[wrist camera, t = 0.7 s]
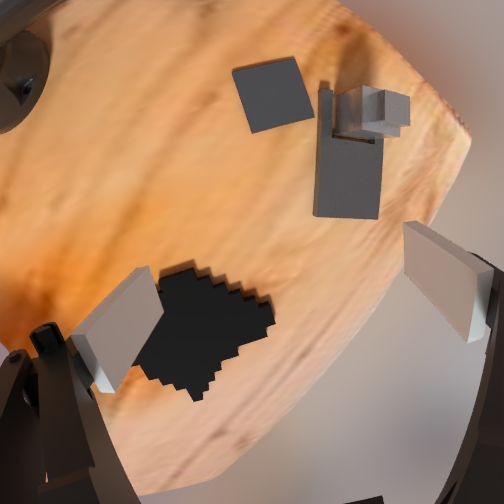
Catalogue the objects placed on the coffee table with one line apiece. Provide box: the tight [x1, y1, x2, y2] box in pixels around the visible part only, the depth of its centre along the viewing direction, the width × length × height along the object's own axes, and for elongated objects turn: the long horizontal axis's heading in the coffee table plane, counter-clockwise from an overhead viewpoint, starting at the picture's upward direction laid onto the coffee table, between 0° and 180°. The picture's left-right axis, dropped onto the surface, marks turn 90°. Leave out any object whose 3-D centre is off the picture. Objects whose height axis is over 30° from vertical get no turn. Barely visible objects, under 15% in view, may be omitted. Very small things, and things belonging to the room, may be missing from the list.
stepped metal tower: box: [332, 85, 410, 140], centre depth 31 cm, size 5×5×11 cm
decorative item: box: [131, 268, 276, 402], centre depth 40 cm, size 23×2×20 cm
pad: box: [232, 59, 315, 134], centre depth 33 cm, size 8×8×1 cm
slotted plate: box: [313, 89, 384, 220], centre depth 36 cm, size 16×9×1 cm, turn 178°
